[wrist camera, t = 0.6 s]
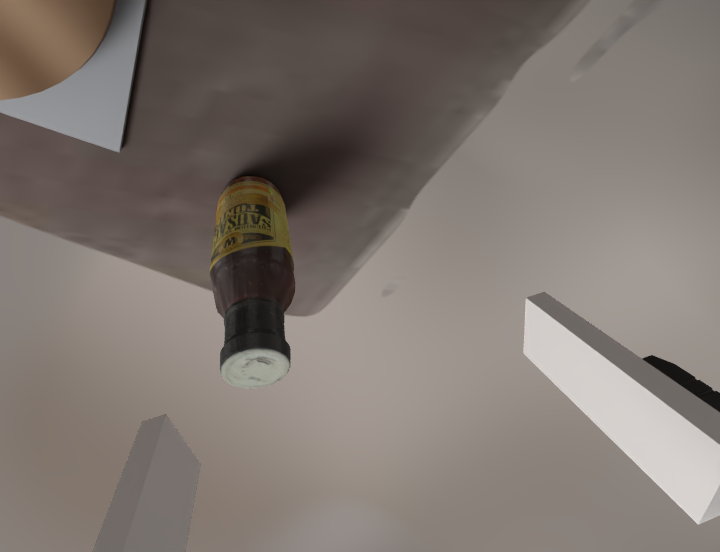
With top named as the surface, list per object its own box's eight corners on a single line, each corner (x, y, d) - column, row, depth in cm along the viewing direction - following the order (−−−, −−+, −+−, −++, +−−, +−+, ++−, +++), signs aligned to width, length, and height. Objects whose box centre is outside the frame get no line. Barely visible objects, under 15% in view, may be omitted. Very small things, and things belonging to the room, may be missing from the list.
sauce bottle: (263, 161, 32) (289, 313, 18) (294, 212, 37) (334, 369, 22) (200, 191, 33) (177, 365, 18) (238, 239, 37) (243, 410, 23)
